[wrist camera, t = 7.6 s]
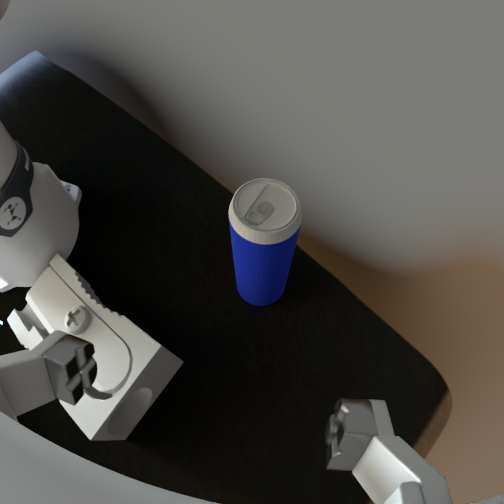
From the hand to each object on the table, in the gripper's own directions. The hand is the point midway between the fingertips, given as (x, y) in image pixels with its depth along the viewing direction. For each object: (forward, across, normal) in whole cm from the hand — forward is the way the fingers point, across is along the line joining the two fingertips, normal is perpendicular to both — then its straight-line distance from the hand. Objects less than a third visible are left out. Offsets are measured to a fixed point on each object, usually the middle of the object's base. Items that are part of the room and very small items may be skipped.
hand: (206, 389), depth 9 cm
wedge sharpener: (+17, +18, +15) cm, 29 cm away
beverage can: (+25, 0, +7) cm, 26 cm away
